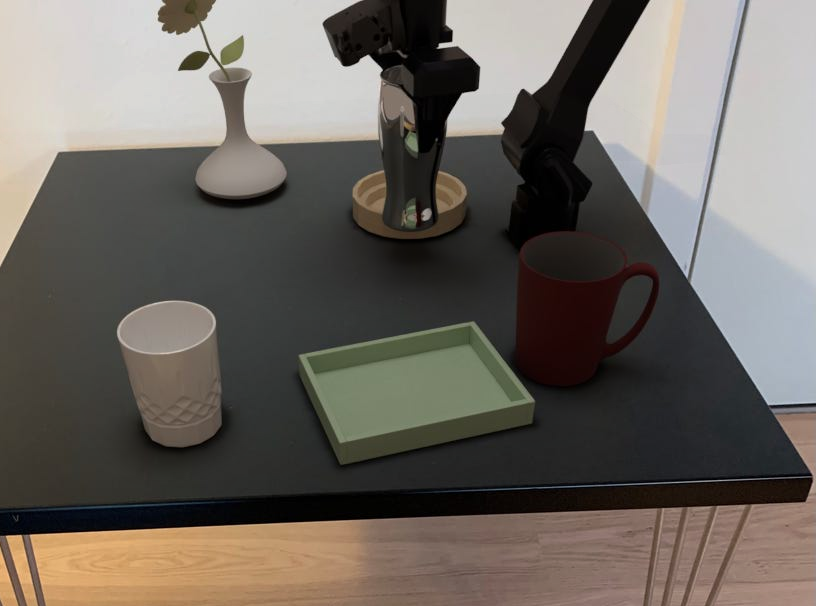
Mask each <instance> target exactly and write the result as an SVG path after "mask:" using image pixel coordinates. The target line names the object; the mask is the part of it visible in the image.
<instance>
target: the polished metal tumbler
mask: <svg viewBox="0 0 816 606" xmlns="http://www.w3.org/2000/svg"><path fill="white" fill-rule="evenodd" d="M400 84H403V80H402V64H397V65H393V66H390V67H387V68H385V69H384V70H381V71H380V73H379V88H378V99H377V102H378V103H377V133H378V142H379V149H380V156H381V161H382V166H383V170H384V173H385V181H386V195H385V201H384V206H383V212H382V221H383V223H384V224H385V225H386V226H388V227H389V228H391V229H394V230H398V231H404V232H416V231H422V230H426V229H429V228H431V227H433V226H434V225H435V224H436V223H437V222H438V218H439V214H438V207H437V200H436V183H437V176H438V171H440V166H441V163H442V158H443V154H444V149H445V143H446V138H447V137H446V136H447V131H448V120H449V117H448V118H447V120H446V122H445V124H444V126H443V128H442V130H441V131H440V133H439V135H438V137H437V139H436V141H435V143H434V145H433V147H432V149H431V151H430V152H428V153H420V152H419V151H418V144H417V138H416V129H415V120H414V111H413V103H412V100H411V99H410V98H409V97H408V96H407V95H406V94H405V93H404V92H403V91H402V90H401V89H400V88H399V86H398V85H400Z"/></svg>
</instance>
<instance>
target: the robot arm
mask: <svg viewBox="0 0 816 606" xmlns="http://www.w3.org/2000/svg"><path fill="white" fill-rule="evenodd" d="M650 1H651V0H591V3H590V5H589V6H588V8H587V10H586V12H585V14H584V16H583V18H582V19H581V21H580V23H579V25H578V27H577V28H576V30H575V31H574V34H573V35H572V37H571V39H570V41H569V43H568V45H567V47H566V49H564V52H563V54H562V55H561V57H560V59H559V61H558V63H557V64H556V66H555V68H554V70H553V72H552V74H551V76H550V77H549V79H548V80H547V81H546V82H545V83H544V84H543V85H542V86H540V87H539V88H538V89H537V90H535V91H534V92H533V93H531V92H529V91H528V90H527V89H525V88H521V89H520V90H519V92H518V93H517V95H516V98H515V101H514V103H513V106H512V109H511V110H510V112H509V113H508V115H507V116H506V117H505V118H504V119H503V120H502V121H501V122H500V124H501V126H502V127H503V131H502V135H501V137H500V144H501V149H502V152H503V155H504V156H505V158H506V159H507V160H508V162H509V163H510V165H512V168H514V169H515V171H516V173H517V175H519V176H520V177H521V179H522V180H523V183H522V184H517V185H516V192H515V193H516V195H515V199H513V200H512V201H511V205H510V214H509V223H508V226H506V227H505V230H504V231H505V233H506V234H507V236H509V238H510V239H511V240H512V241H513V242H514V243H515V244H516V245H517V246H518V247H519V248H520V249H521V248H522V246H523V245H524V244H525V243H526V242H527V241H528V240H530V239H532V238H534V237H536V236H538V235H542V234H545V233H551V232H561V231H572V232H577V226H578V225H577V224H578V219H579V212H580V207H581V203H583V202H584V201H585V200H586V198H587V196H588V195H589V192H590V191H591V189H592V187H593V181H592V180H591V179H590V178H589V177H588V176H587V175H586V173H584V171H583V170H582V169H581V168H580V167H579V166H578V165H577V164H576V162H575V160H576V158H577V155H578V153H579V151H580V148H581V145H582V143H583V141H584V137H585V131H586V125H587V119H588V113H589V108H590V105H591V103H592V101H593V99H594V97H595V96H596V95H597V92H598V91H599V89H600V87H601V86H602V84H603V82H604V80H605V78H606V77H607V75H608V73H609V71H611V68H612V67H613V65H614V63H615V61H616V60H617V58H618V56H619V54H620V53H621V51H622V49H623V47H625V44H626V43H627V41H628V39H629V37H631V34H632V33H633V31H634V29H635V28H636V26H637V24H638V22H639V20H640V18H641V17H642V15H643V13H644V12H645V10H646V8H647V6H648V5H649V3H650ZM447 8H448V0H359V1H356V2H355V3H353V4H351V5H349V6H347V7H346V8H343V9H341V10H340V11H338V12H336V13H334V14H332V15H330V16H329V17H327V18H326V19H324V20H323V22H322V27H323V30H324V32H325V35H326V38H327V40H328V44H329V46H330V48H331V51H332V54H333V57H335V58H336V59H337V60H338V61H339V63H340V64H341V66H342V67H345V68H346V67H347V68H348V67H352V66H355V65H356V64H358V63H360V61H361V59H363V58H365V57H367V56H369V58H370V59H371V60H373V62H374V63H375V64H376V65H377V66H378V67H380V68H381V71H383V70H384V69H385V68H387V67H390V66H393V65H397V64H402V80H403V84H400V85H398V86H399V88H400V89H401V90H402V91H403V92H404V93H405V94H406V95H407V96H408V97H409V98H410V99H411V100H412V103H413V111H414V120H415V129H416V138H417V144H418V151H419V152H420V153H428V152H430V151H431V149H432V147H433V145H434V143H435V141H436V139H437V137H438V135H439V133H440V131H441V130H442V128H443V126H444V124H445V122H446V120H447V118H448V119H449V116H450V115H451V113H452V111H453V109H454V108H455V106H456V104H457V103H458V101H459V100H460V98H461V96H462V95H463V94H466V93H474V92H476V91H478V90H479V89H480V79H481V66H480V65H479V64H478V63H477V61H475V59H474V58H473V57H471V56H470V55H469V54H468V53H467V52H466V51H464V50H463V49H462V48H461V47H460V46H458V45H456V46H447V47H440V44H449V43H453V38H454V29H452V28H451V27H449V26H448V25H447V12H448V11H447Z"/></svg>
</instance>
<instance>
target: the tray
mask: <svg viewBox="0 0 816 606" xmlns="http://www.w3.org/2000/svg"><path fill="white" fill-rule="evenodd" d="M298 368H299V377H300V379H301V381H302V384H303V386H304V388H305V390H306V393H307V395H308V397H309V399H310V401H311V404H312V406H313V408H314V410H315V412H316V414H317V416H318V419H319V421H320V423H321V425H322V427H323V430H324V432H325V434H326V436H327V439H328V441H329V443H330V445H331V447H332V450H333V452H334V454H335V457H336V458H337V460H338V463H339V465H340V466H343V465H348V464H353V463H356V462H357V463H358V462H361V461H367V460H370V459H371V460H372V459H375V458H380V457H385V456H389V455H393V454H399V453H403V452H409V451H412V450H417V449H421V448H426V447H430V446H435V445H439V444H444V443H449V442H452V441H457V440H463V439H467V438H472V437H477V436H480V435H486V434H490V433H494V432H495V433H496V432H499V431H504V430H508V429H512V428H518V427H522V426H528V425H531V424H533V419H534V415H535V414H534V412H535V406H536V400H535V399H534V397H533V396H532V395H531V394H530V392H529V391H528V390H527V388H526V387H525V386H524V385H523V384H522V382H521V381H520V379H519V378H518V376H517V375H516V374H515V373H514V371H513V370H512V369H511V368H510V366H509V365H508V364H507V362H506V361H505V360H504V359H503V357H502V355H500V353H499V352H498V351H497V349H496V348H495V346H494V345H493V343H491V341H490V340H489V339H488V337H487V336H486V335H485V333H484V332H483V331H482V330H481V329H480V327H479V326H478V324H477V323H476V322H475V321H474V320H473V321H468V322H462V323H457V324H452V325H447V326H442V327H437V328H436V327H435V328H431V329H425V330H421V331H416V332H415V331H414V332H411V333H405V334H400V335H395V336H390V337H384V338H379V339H374V340H369V341H364V342H358V343H352V344H349V345H348V344H347V345H342V346H337V347H333V348H327V349H322V350H316V351H313V352H307V353H302V354H298Z"/></svg>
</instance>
